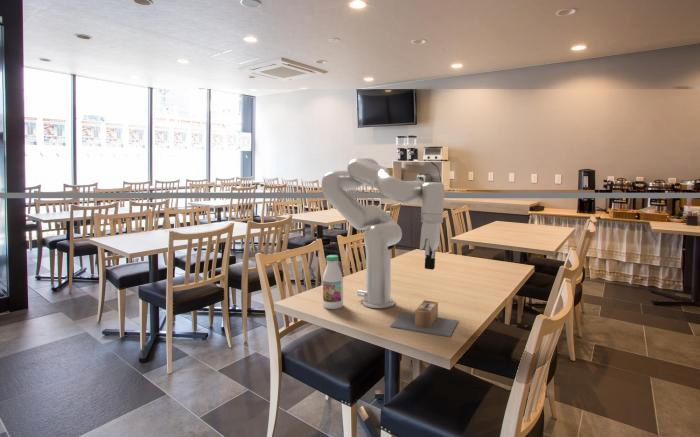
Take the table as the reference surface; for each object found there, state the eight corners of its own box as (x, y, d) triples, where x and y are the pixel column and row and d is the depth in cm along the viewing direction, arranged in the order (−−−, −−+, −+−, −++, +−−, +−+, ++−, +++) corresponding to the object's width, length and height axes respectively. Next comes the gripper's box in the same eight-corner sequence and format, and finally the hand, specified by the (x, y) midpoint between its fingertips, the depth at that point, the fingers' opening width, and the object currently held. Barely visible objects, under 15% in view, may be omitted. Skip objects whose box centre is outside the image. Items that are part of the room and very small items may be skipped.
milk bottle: (327, 302, 159) (326, 253, 157) (345, 303, 157) (345, 254, 154) (320, 308, 152) (319, 257, 149) (339, 310, 150) (338, 258, 147)
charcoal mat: (390, 326, 134) (390, 325, 134) (402, 312, 147) (402, 311, 147) (450, 337, 126) (450, 336, 125) (458, 321, 138) (458, 320, 138)
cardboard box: (424, 313, 145) (414, 325, 134) (424, 299, 144) (415, 310, 133) (437, 315, 143) (429, 327, 132) (438, 301, 142) (429, 312, 131)
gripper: (426, 214, 147) (424, 262, 150) (415, 219, 133) (413, 272, 136) (447, 215, 144) (444, 265, 146) (437, 221, 130) (435, 275, 133)
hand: (429, 268), depth 141 cm, fingers closed
